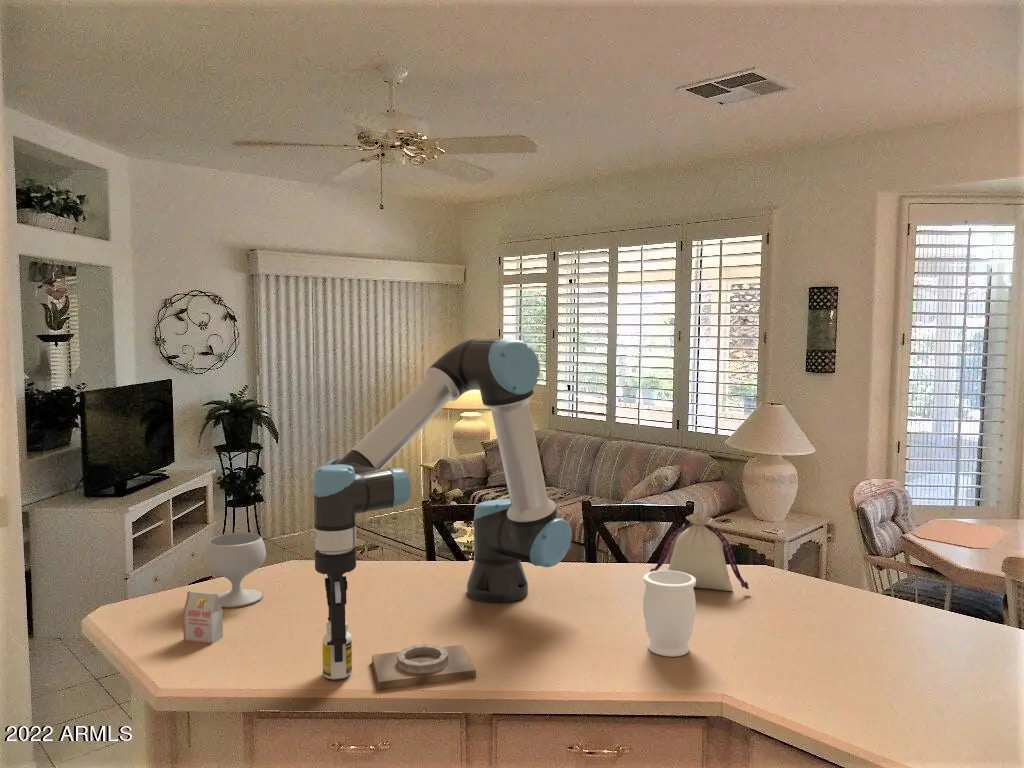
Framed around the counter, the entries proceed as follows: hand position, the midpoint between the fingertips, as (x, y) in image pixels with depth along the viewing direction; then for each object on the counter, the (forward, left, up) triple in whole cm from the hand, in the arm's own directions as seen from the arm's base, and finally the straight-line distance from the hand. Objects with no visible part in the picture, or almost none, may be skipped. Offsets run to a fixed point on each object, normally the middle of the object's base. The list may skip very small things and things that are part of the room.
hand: (337, 669), depth 143 cm
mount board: (-16, +2, -1) cm, 16 cm away
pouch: (-91, -26, -1) cm, 94 cm away
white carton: (+26, -25, -1) cm, 36 cm away
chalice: (+21, -48, -1) cm, 52 cm away
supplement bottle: (0, 0, -1) cm, 1 cm away
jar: (-66, +6, -1) cm, 66 cm away
